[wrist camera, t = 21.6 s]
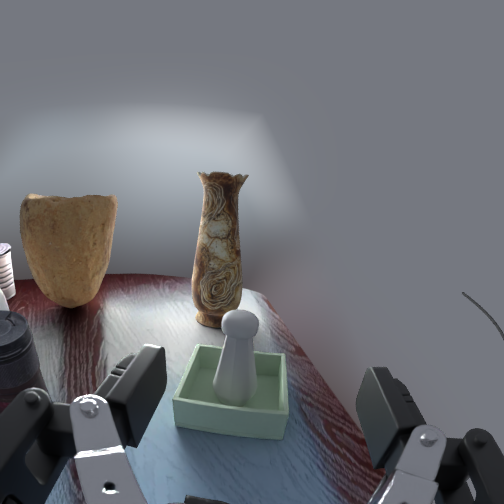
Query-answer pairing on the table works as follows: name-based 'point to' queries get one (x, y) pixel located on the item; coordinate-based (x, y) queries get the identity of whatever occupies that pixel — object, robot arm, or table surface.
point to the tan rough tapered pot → (68, 244)
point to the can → (6, 272)
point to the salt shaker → (237, 359)
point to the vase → (218, 249)
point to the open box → (230, 417)
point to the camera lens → (17, 358)
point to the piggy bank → (3, 302)
